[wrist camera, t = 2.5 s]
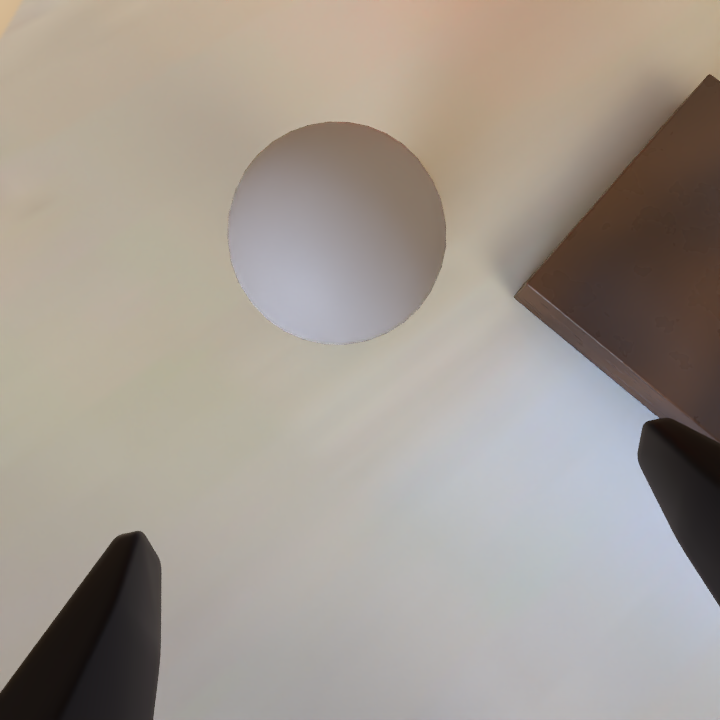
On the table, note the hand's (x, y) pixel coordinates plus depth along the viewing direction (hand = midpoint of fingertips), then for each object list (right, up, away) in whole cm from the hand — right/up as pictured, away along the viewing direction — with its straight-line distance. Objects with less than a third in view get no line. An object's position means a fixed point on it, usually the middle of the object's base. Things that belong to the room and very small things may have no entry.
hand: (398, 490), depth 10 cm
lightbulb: (-1, +4, +14) cm, 15 cm away
